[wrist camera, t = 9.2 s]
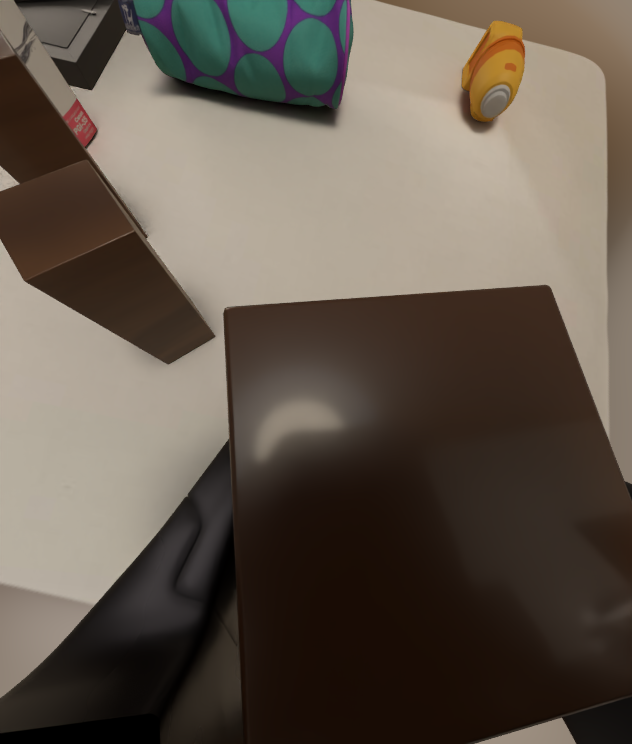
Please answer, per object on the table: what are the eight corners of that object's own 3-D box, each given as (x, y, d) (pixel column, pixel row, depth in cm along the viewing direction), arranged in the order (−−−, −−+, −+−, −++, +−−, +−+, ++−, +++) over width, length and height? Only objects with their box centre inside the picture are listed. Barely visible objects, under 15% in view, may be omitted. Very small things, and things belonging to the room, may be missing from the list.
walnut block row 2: (147, 237, 24) (15, 53, 13) (100, 259, 23) (-90, 82, 12) (124, 203, 25) (-22, -1, 13) (78, 223, 24) (-124, 22, 12)
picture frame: (140, 3, 32) (-37, -41, 31) (125, -38, 29) (-69, -87, 28) (91, 90, 28) (-114, 43, 27) (69, 52, 25) (-160, -2, 24)
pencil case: (153, 98, 28) (86, -67, 19) (173, 46, 30) (121, -125, 21) (339, 133, 30) (361, -5, 20) (345, 81, 32) (367, -65, 23)
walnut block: (215, 336, 22) (135, 230, 11) (167, 364, 21) (23, 281, 10) (189, 297, 23) (86, 158, 11) (141, 323, 22) (-24, 199, 11)
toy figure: (498, 140, 32) (499, 75, 35) (539, 82, 27) (537, 10, 30) (456, 129, 32) (461, 65, 35) (490, 68, 26) (492, -2, 29)
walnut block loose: (366, 480, 14) (705, 680, 3) (284, 493, 14) (244, 821, 2) (353, 400, 15) (552, 282, 4) (276, 409, 15) (221, 305, 3)
